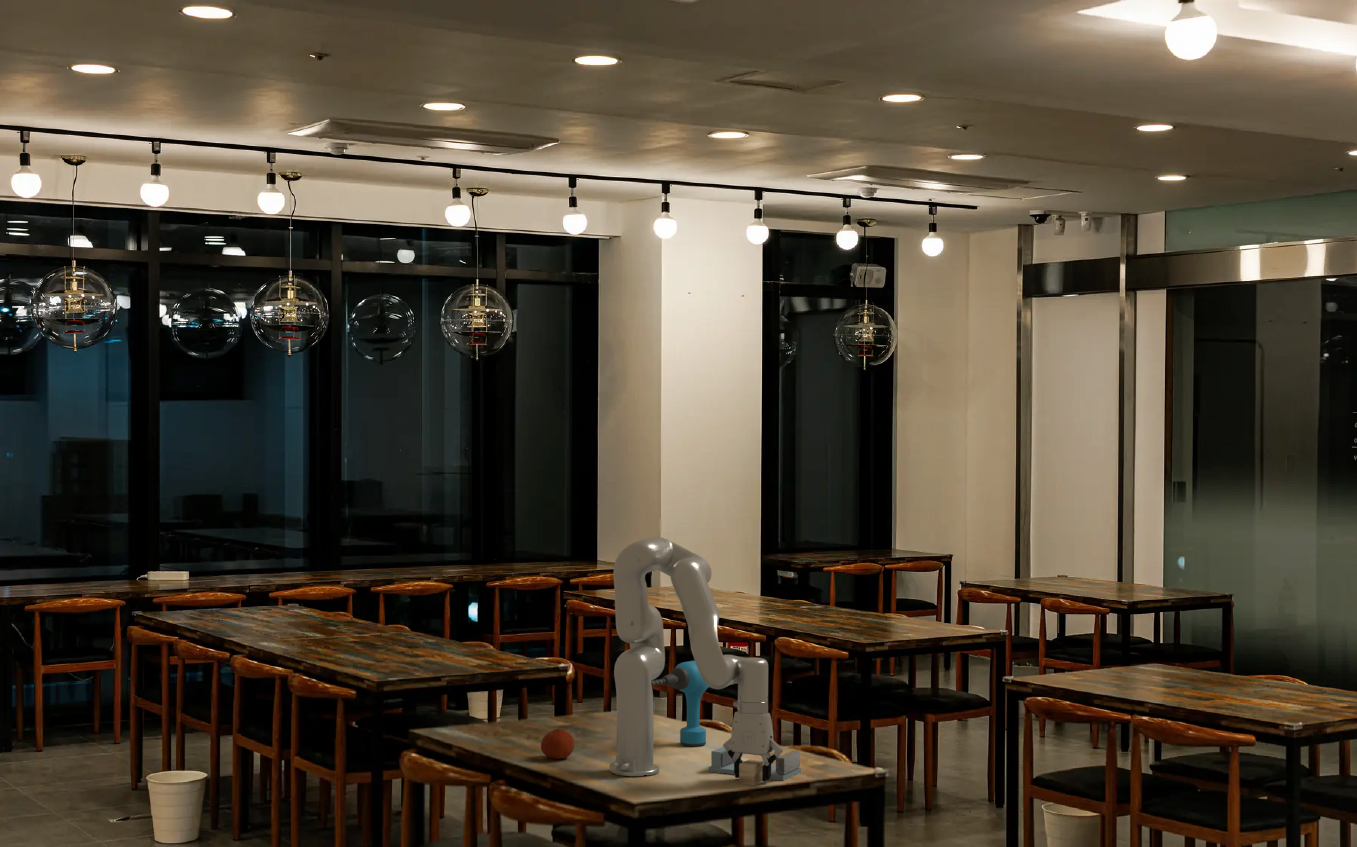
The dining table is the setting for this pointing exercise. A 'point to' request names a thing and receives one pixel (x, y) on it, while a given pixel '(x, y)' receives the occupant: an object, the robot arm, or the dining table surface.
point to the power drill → (688, 699)
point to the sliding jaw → (788, 762)
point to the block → (750, 771)
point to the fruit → (557, 744)
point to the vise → (726, 765)
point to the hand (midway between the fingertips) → (752, 778)
